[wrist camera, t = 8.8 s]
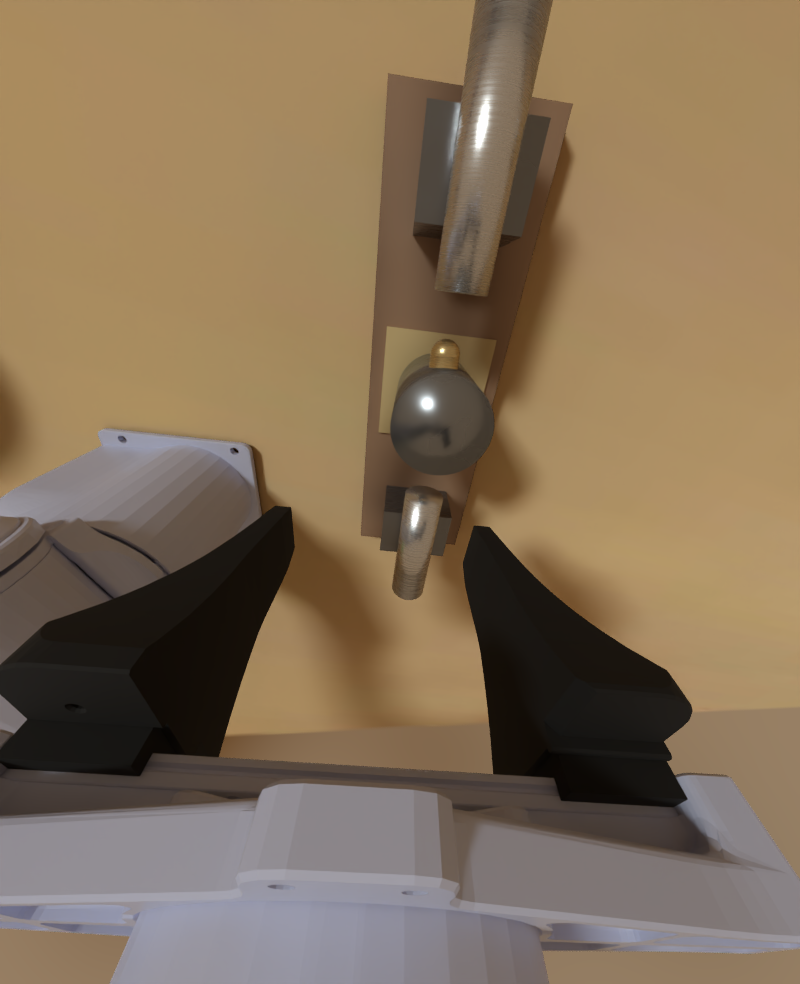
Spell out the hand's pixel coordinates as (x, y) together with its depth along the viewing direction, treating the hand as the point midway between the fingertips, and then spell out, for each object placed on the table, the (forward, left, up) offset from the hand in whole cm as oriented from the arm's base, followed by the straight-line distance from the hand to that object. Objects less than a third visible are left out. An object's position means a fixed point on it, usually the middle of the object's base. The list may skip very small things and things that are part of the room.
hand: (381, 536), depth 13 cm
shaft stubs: (+2, +4, -8) cm, 9 cm away
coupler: (+2, +4, -8) cm, 9 cm away
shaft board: (+2, +4, -9) cm, 10 cm away
